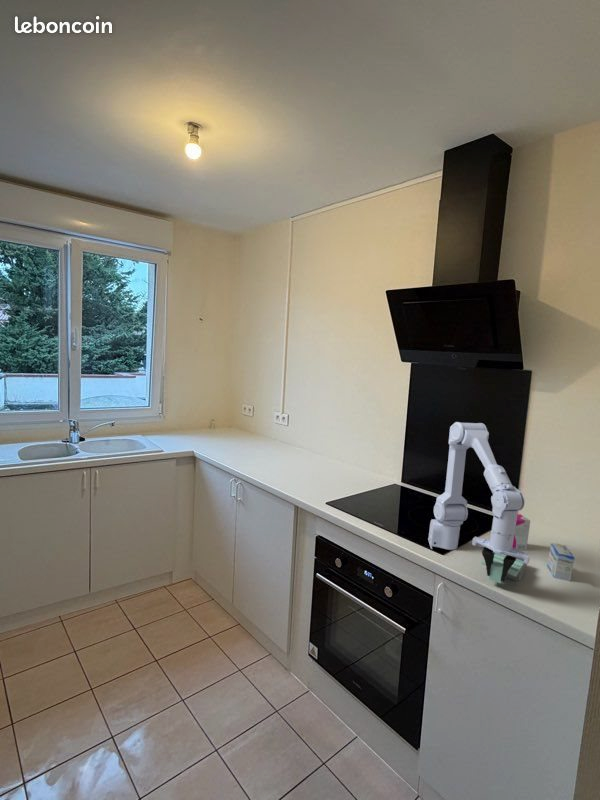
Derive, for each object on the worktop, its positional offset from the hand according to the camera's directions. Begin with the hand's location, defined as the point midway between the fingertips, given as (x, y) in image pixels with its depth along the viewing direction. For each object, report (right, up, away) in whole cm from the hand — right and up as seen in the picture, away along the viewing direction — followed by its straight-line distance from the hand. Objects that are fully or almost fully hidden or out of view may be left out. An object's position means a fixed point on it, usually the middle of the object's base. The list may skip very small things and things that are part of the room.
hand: (496, 577), depth 117 cm
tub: (+8, -3, +11) cm, 14 cm away
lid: (+4, -1, +5) cm, 6 cm away
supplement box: (+19, -2, +27) cm, 33 cm away
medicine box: (+24, -4, +11) cm, 27 cm away
